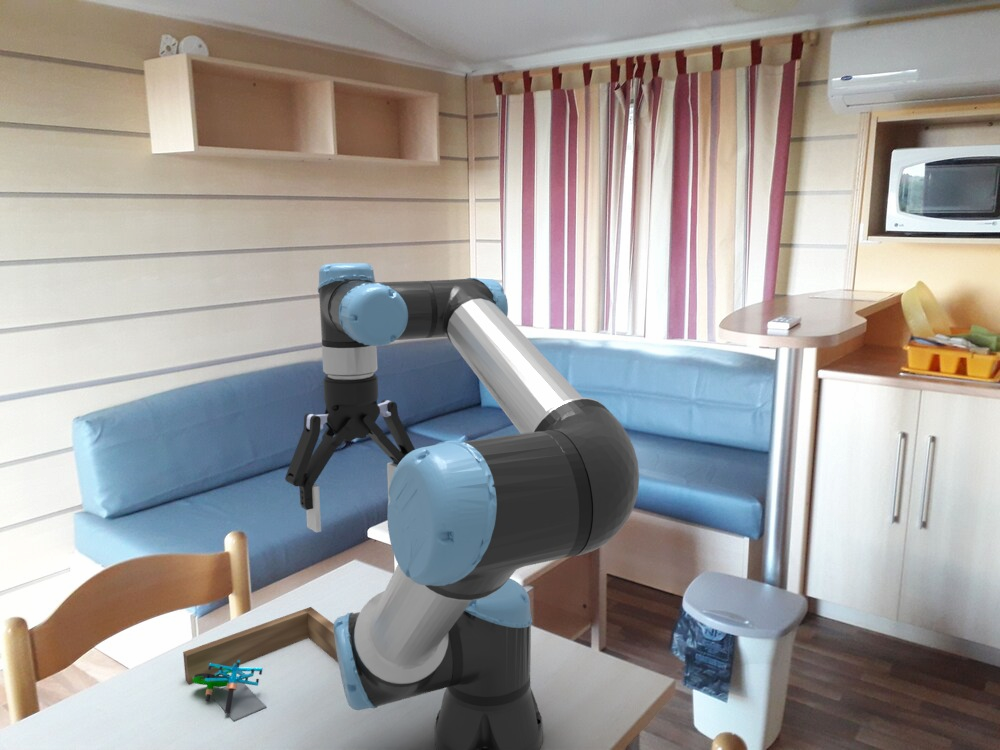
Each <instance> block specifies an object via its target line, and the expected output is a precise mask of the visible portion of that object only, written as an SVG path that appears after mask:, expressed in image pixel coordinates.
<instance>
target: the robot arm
mask: <svg viewBox="0 0 1000 750" xmlns="http://www.w3.org/2000/svg"><path fill="white" fill-rule="evenodd" d="M504 291H505V290H504V287H503V286H502V284H501V283H500V282H499V281H497V280H495V279H490V278H478V277H468V278H460V279H458V278H457V279H437V280H436V279H435V280H410V281H408V280H407V281H406V280H405V281H403V280H402V281H401V280H400V281H382V282H381V281H380V282H378V281H377V282H376V280H375V273H374V268H373V267H372V265H371V264H370V263H369V264H368V263H365V262H363V263H362V262H340V263H339V262H338V263H335V262H334V263H325V264H322V266H320V268H319V270H318V287H317V292H318V295H319V296H318V297H319V311H320V312H319V313H320V314H319V315H320V329H321V331H320V332H321V352H322V354H321V355H322V357H321V358H322V372H323V373H324V374H326V375H325V376H324V378H323V381H322V383H323V398H324V399H323V400H324V404H325V409H324V413H323V414H313V413H311V412H307V413H305V415H303V431H302V433H301V436H300V437H299V440H298V443H297V446H296V447H295V450H294V454H293V456H292V459H291V461H290V464H289V466H288V468H287V471H286V474H285V477H284V480H285V482H286V483H288V484H290V485H292V486H294V487H298V488H299V500H300V501H299V502H300V503H299V504H300V506H301V508H303V509H304V510H305V511H306V512H305V514H306V528H308V529H310V530H312V531H313V532H314V533H321V532H322V522H321V521H322V517H321V514H322V513H321V496H320V485H319V486H318V485H317V484H315V483H316V482H317V480H318V479H319V477H320V476H321V474H322V472H323V470H324V469H325V468H326V466H327V464H329V463H328V462H329V461H330V460H331V457H333V455H334V453H335V452H336V450H337V448H339V447H340V446H341V445H342V444H343V442H344V441H346V442H350V441H353V440H356V439H366V438H367V437H368V436H369V437H370V438H371V440H373V442H374V443H375V444H376V445H377V446H378V447H379V448H380V450H382V452H384V453H385V455H386V456H387V457H388V458H389V459H390V460H391V461H392V462H387V463H386V471H387V472H386V473H387V497H388V498H387V499H388V500H387V502H388V503H387V509H386V512H387V513H386V514H387V515H386V516H387V517H386V518H387V531H388V536H389V543H390V545H391V549H392V552H393V554H394V555H393V556H394V557H395V560H396V563H397V566H396V567H395V570H394V572H393V573H392V575H391V577H390V579H389V581H388V584H387V585H386V587H385V589H384V590H383V591H380V592H379V593H377V594H376V595H375V596H373V597H372V598H371V599H369V600H368V601H367V602H366V604H365V605H364V606H363V607H362V609H361V610H360V611H359V612H347V613H346V614H345V615H342V616H339V617H337V618H336V619H335V620H334V622H333V624H334V626H333V628H334V638H335V645H336V651H337V657H338V662H337V663H338V666H339V671H340V677H341V682H342V686H343V690H344V694H345V698H346V702H347V704H348V706H349V707H350V708H351V709H352V710H355V711H360V710H361V711H362V710H367V709H373V710H374V709H375V710H376V708H378V707H380V706H384V705H387V704H391V703H395V702H398V701H404V700H405V699H410V698H413V697H417V696H420V695H424V694H428V693H431V692H434V691H439V690H442V689H445V691H444V694H443V697H442V701H441V706H440V709H439V710H438V712H437V716H436V717H435V720H434V721H435V722H434V742H435V743H434V744H435V746H436V749H437V750H540V748H541V746H542V743H543V739H544V737H543V733H544V732H543V731H544V727H543V726H544V725H543V718H542V715H541V712H540V710H539V707H538V704H537V701H536V698H535V695H534V692H533V689H532V686H531V663H532V662H531V656H532V655H531V653H532V652H531V650H532V649H531V646H532V645H531V644H532V643H531V642H532V641H531V639H532V637H531V636H532V635H531V634H532V633H531V632H532V631H531V630H532V624H533V617H532V612H531V601H530V596H529V594H528V591H527V590H526V589H525V588H524V586H522V584H520V582H518V581H516V580H515V579H512V578H511V577H512V576H513V575H514V573H515V572H516V571H517V570H520V569H521V568H523V567H528V566H529V567H530V566H532V565H537V564H542V563H546V562H551V561H557V560H561V559H565V558H570V557H576V556H577V557H578V556H581V555H585V554H588V553H591V552H594V551H596V550H597V549H599V548H601V547H603V546H604V545H606V544H607V543H609V541H611V540H612V539H614V537H616V535H617V534H619V533H620V532H621V530H622V529H623V528H624V526H625V524H626V523H627V522H628V520H629V518H630V517H631V514H632V513H633V510H634V506H635V505H636V502H637V497H638V493H639V484H640V471H639V464H638V463H639V462H638V459H637V458H638V457H637V454H636V450H635V448H634V445H633V443H632V440H631V438H630V436H629V434H628V432H627V431H626V430H625V428H624V427H623V425H622V423H621V422H620V421H619V420H618V418H616V417H615V415H614V414H613V413H612V412H611V411H610V410H609V409H608V408H607V407H606V406H605V405H604V404H603V403H602V402H600V401H599V400H596V399H595V398H591V397H584V396H582V395H581V394H580V393H579V391H577V389H575V388H574V386H572V384H570V382H569V381H568V380H567V379H566V378H565V377H564V376H563V375H562V374H561V373H560V371H558V369H556V368H555V366H554V365H553V364H552V363H551V362H550V361H549V360H548V359H547V358H546V357H545V356H544V355H543V354H542V352H540V349H538V348H537V347H536V346H535V345H534V344H533V343H532V342H531V341H530V340H529V339H528V338H527V337H526V335H525V334H524V333H523V332H522V331H521V330H520V329H519V328H518V327H517V326H516V325H515V324H514V322H512V320H510V318H509V317H508V314H509V303H508V299H507V295H506V294H505V292H504ZM434 338H436V339H438V338H447V339H448V340H449V341H450V343H451V344H452V345H453V346H454V348H455V349H456V350H457V352H458V353H459V354H460V356H461V357H462V358H463V360H464V361H465V362H466V364H467V365H468V366H469V367H470V369H471V370H472V372H473V373H474V374H475V375H476V376H477V378H478V379H479V381H480V382H481V383H482V384H483V386H484V387H485V389H486V390H487V392H489V394H490V396H492V398H493V399H494V401H495V403H497V404H498V405H499V407H500V409H501V410H502V412H503V413H505V415H506V416H507V418H508V419H509V420H510V421H511V423H512V424H513V426H514V427H515V428H516V429H517V431H518V433H517V434H516V433H515V434H509V435H502V436H495V437H487V438H480V439H472V440H464V441H460V440H446V441H441V442H439V441H438V442H437V443H435V444H433V445H429V446H423V447H419V448H416V449H415V447H414V444H413V442H412V440H411V438H410V436H409V433H407V431H406V428H405V427H404V425H403V423H402V420H401V419H400V416H399V412H398V405H397V404H398V403H397V402H395V401H391V400H388V399H382V400H381V402H380V403H378V399H379V381H378V380H379V379H378V376H377V375H376V374H375V373H376V372H377V370H378V368H379V367H378V351H377V350H378V349H377V347H382V346H386V345H389V344H391V343H395V341H403V340H405V341H406V340H418V339H434ZM379 416H381V417H383V420H384V422H385V424H386V426H387V428H388V430H389V432H390V435H391V436H392V438H393V439H394V441H395V444H396V445H395V444H394V443H393V442H392V440H390V438H389V437H388V436H387V435H386V434H385V433H384V431H383V430H382V429H381V427H380V426H379V425H378V424H377V423H376V422H377V420H378V417H379ZM324 425H326V426H327V428H326V429H325V431H324V433H323V435H321V438H322V439H321V441H320V443H319V444H318V445H317V443H318V440H319V437H320V433H321V430H323V429H324ZM316 445H317V447H316ZM315 448H316V449H315Z"/></svg>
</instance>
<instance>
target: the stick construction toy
mask: <svg viewBox="0 0 1000 750" xmlns="http://www.w3.org/2000/svg"><path fill="white" fill-rule="evenodd" d="M211 667H215V668H219V672H217V673H215V675H213V674H206V673H203V674H197V675H194V676H193V678H192V681H193V682H194V683H193V684H197V685H204V686H205V685H206V690H205V702H210V701H211V697H212V692H213V691H214V688H221V687H222V688H223V687H226V686H227V690H228V696H227V702H226V707H225V711H224V713H225V714H227V713H230V711H231V705H232V699H233V693H234V691H235V690H236V688H237V682H238V683H243V684H245V685H250V686H257V687H258V686H259V682H260V679H259V678H257V679H255V681H251V680H249V678H252V677H254V674H255V672H258V675H260V676H261V675H262V674H263V670H264V669H263V667H240V660H238V661H237V662H236V663H235V664H233V667H229V666H224V665H218V664H213V663H209V667H208V670H211ZM222 669H224V671H222ZM245 672H250V673H245ZM237 675H238V676H237Z"/></svg>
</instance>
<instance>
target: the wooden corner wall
mask: <svg viewBox="0 0 1000 750" xmlns="http://www.w3.org/2000/svg"><path fill="white" fill-rule="evenodd" d="M333 626H334V622H331V620H329V619H328V618H326V617H325V616H324V615H322V614H321V613H320V612H318V611H317V610H316V609H314V608H313V607H312V606H310V607H309V606H308V607H305V608H303V609H301V610H298V611H295V612H293V613H292V612H291V613H289V614H286V615H284V616H281V617H279V618H275V619H273V620H270V621H267V622H264V623H261V624H258V625H256V626H253V627H250V628H247V629H245V630H242V631H239V632H236V633H234V634H233V633H232V634H230V635H227V636H224V637H222V638H219V639H217V640H213V641H210V642H207V643H205V644H202V645H199V646H196V647H193V648H190V649H188V650H185V651H183V653H182V655H183V665H184V677H185V682H186V683H187V684H188V685H189V686H190V685H192V684H195V683H194V682H193V681H192V678H193V676H194V675H197V674H203V673H206V674H213V675H215V673H217V672H219V668H215V667H211V670H208V667H209V663H213V664H218V665H224V666H229V667H233V664H235V663H236V662H237V661H238V660H240V665H243V664H246V663H249V662H251V661H253V660H256V659H258V658H261V657H263V656H266V655H268V654H271V653H274V652H277V651H278V650H279V651H280V650H281V649H284V648H286V647H289V646H291V645H294V644H297V643H299V642H301V641H304V640H307V639H309V640H310V641H311V642H313V643H314V644H315V645H316V646H317V647H318V648H320V649H321V650H322V651H324V652H325V653H326V654H327V655H328V656H329V657H331V658H332V660H334V661H335V662H336V663H338V657H337V651H336V645H335V638H334V628H333ZM240 665H239V666H240ZM222 671H224V669H222Z"/></svg>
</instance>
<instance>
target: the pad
mask: <svg viewBox="0 0 1000 750" xmlns="http://www.w3.org/2000/svg"><path fill="white" fill-rule="evenodd" d="M227 696H228V690H227V686H224V687H222V688H221V687H220V688H219V689H216V690H213V692H212V696H211V697H212V698H213V700H214V701H215V702H216V703H217V704H218V705H219V706H220V707H221V709H222V710H223V711H224V712H225V707H226V702H227ZM264 709H267V706H266V704H265V703H264V702H263V701H262V700H261V699H260V698H259V697H258V696H257V695H256V694H255V693H254V692H253V691H252V690H251V689H250V687H248V685H247V684H243V683H238V682H237V688H236V690H235V691H234V693H233V699H232V705H231V711H230V713H226V715H228V717H229V718H230V719H231V720H232V721H233V722H235V721H238V720H241V719H243V718H245V717H247V716H250V715H253V714H255V713H257V712H260V711H262V710H264Z"/></svg>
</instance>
